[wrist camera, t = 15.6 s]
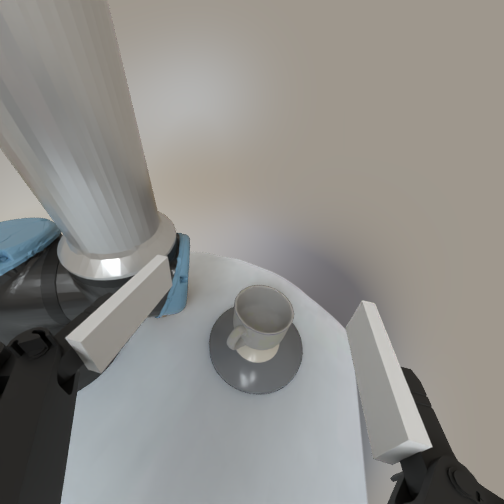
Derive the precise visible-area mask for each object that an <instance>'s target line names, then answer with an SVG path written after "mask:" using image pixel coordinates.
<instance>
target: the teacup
mask: <svg viewBox="0 0 504 504" xmlns="http://www.w3.org/2000/svg"><path fill="white" fill-rule="evenodd" d="M293 318H294V311H293V307H292V305H291V303H290V301H289V300H288V299H287V297H286V296H285V295H284V294H283V293H281V292H280V291H278V290H276V289H274V288H272V287H269V286H264V285H254V286H249V287H247V288H245V289H243V290H242V291H240V293H239V294H238V295H237V297H236V299H235V304H234V316H233V326H234V330H233V331H232V332H231V333H230V335H229V337H228V339H227V345H228V347H229V348H230V349H232V350H237V349H239V348H240V347H242V346H245V345H246V346H248V347H250V348H252V349H256V350H268V349H271V348H273V347H275V346H276V345H278V344H279V343H280V342H281V341H282V339H283V338H284V336H285V334H286V332H287V330H288V328H289V327H290V325H291V324H292V321H293Z"/></svg>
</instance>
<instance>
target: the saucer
mask: <svg viewBox="0 0 504 504" xmlns="http://www.w3.org/2000/svg"><path fill="white" fill-rule="evenodd" d="M233 316H234V307H233V308H231V309H229V310H227V311H226V312H225V313H223V314H222V315H221V316H220V317H219V319H218V320H217V321H216V323H215V324H214V326H213V328H212V331H211V335H210V341H209V348H210V357H211V360H212V363H213V365H214V367H215V369H216V371H217V372H218V374H219V375H220V376H221V377H222V379H223V380H224V381H226V382H227V383H228V384H229V385H231V386H232V387H234V388H235V389H238V390H240V391H242V392H246V393H249V394H268V393H272V392H275V391H278V390H279V389H281V388H283V387H284V386H286V385H287V384H288V383H289V382H290V381H291V380H292V379H293V378H294V376H295V375H296V373H297V371H298V369H299V366H300V364H301V360H302V354H303V353H302V342H301V338H300V335H299V333H298V331H297V329H296V327H295V326H294V324H293V323H292V324H291V325H290V327H289V328H288V330H287V332H286V334H285V336H284V338H283V339H282V341H281V342H280V343H279V344H278V345H276V346H275V347H273V348H271V349H268V350H256V349H252V348H250V347H248V346H246V345H245V346H242V347H240V348H239V349H237V350H232V349H230V348H229V347H228V345H227V339H228V337H229V335H230V333H231V332H232V331H233V330H234V326H233Z"/></svg>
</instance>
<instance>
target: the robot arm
mask: <svg viewBox="0 0 504 504" xmlns="http://www.w3.org/2000/svg"><path fill="white" fill-rule="evenodd" d="M0 148H1V150H2V152H3V153H4V154H5V156H6V157H7V158H8V160H9V161H10V162H11V164H12V165H13V166H14V168H15V169H16V170H17V172H18V173H19V174H20V176H21V177H22V179H23V180H24V181H25V183H26V184H27V186H28V187H29V188H30V190H31V191H32V192H33V194H34V195H35V196H36V198H37V199H38V201H39V202H40V203H41V205H42V206H43V207H44V209H45V210H46V211H47V213H48V214H49V215H50V217H51V218H52V220H53V221H54V222H55V223H54V222H52V221H50V220H48V219H45V218H22V219H14V220H9V221H3V222H0V504H60V503H61V496H62V490H63V483H64V476H65V470H66V463H67V456H68V450H69V443H70V436H71V429H72V423H73V416H74V409H75V403H76V396H77V391H79V390H81V389H82V388H84V387H85V386H87V385H88V384H90V383H91V382H92V381H93V380H95V379H96V378H97V377H98V376H99V375H100V374H101V373H103V371H104V370H105V369H106V368H107V367H108V366H109V365H110V364H111V362H112V361H113V360H114V358H115V356H116V355H117V354H118V352H119V351H120V350H121V349H122V347H123V346H124V345H125V344H126V342H127V341H128V340H129V339H130V337H131V336H132V335H133V334H134V333H135V331H136V330H137V329H138V328H139V326H140V325H141V324H142V323H143V321H144V320H145V319H146V318H147V317H155V318H160V317H162V316H164V315H170V314H177V313H179V312H181V311H182V310H183V309H184V308H185V306H186V302H187V291H188V272H189V255H190V238H189V236H187V235H186V234H182V233H176V231H175V227H174V224H173V223H172V221H171V220H170V219H169V218H168V217H167V216H166V215H164V214H162V213H160V212H159V211H157V207H156V203H155V198H154V194H153V190H152V186H151V181H150V177H149V173H148V169H147V164H146V160H145V156H144V152H143V148H142V143H141V139H140V135H139V131H138V126H137V122H136V118H135V114H134V109H133V105H132V101H131V97H130V93H129V88H128V84H127V80H126V76H125V72H124V67H123V63H122V59H121V55H120V50H119V47H118V42H117V38H116V33H115V29H114V25H113V21H112V17H111V13H110V8H109V4H108V0H0ZM61 232H62V233H63V235H62V234H61ZM346 331H347V336H348V341H349V345H350V350H351V355H352V360H353V364H354V369H355V374H356V379H357V383H358V388H359V393H360V398H361V402H362V407H363V411H364V417H365V421H366V426H367V431H368V436H369V440H370V445H371V450H372V455H373V459H375V460H378V461H382V462H385V463H388V464H391V465H393V464H395V463H398V462H400V463H401V467H402V470H403V472H400V473H398V474H395V475H393V476H392V477H391V480H392V481H393V482H394V481H397V483H396V485H395V487H394V490H393V492H392V494H391V497H390V499H389V501H388V504H504V500H503V499H501V498H500V497H498V496H497V495H495V494H494V493H492V492H491V491H489V490H487V489H486V488H484V487H483V486H482V485H480V484H479V483H478V482H477V480H476V479H475V477H474V476H473V475H472V474H471V473H470V472H469V470H468V469H467V468H466V467H465V466H463V465H462V464H461V463H460V462H458V460H457V459H456V457H455V455H454V453H453V452H452V450H451V447H450V445H449V443H448V441H447V439H446V437H445V434H444V432H443V430H442V428H441V425H440V423H439V421H438V419H437V417H436V414H435V412H434V410H433V409H432V408H431V403H430V401H429V399H428V397H426V393H425V390H424V388H423V386H422V384H421V382H420V380H419V379H418V378H417V377H416V375H415V374H414V373H413V371H412V370H411V369H407V368H404V367H400V365H399V362H398V360H397V357H396V355H395V352H394V350H393V347H392V345H391V342H390V340H389V337H388V335H387V332H386V330H385V327H384V325H383V322H382V320H381V317H380V315H379V312H378V310H377V307H376V305H375V303H371V302H367V301H361V303H360V305H359V306H358V308H357V310H356V311H355V313H354V315H353V316H352V318H351V320H350V321H349V323H348V324H347V326H346Z"/></svg>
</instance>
